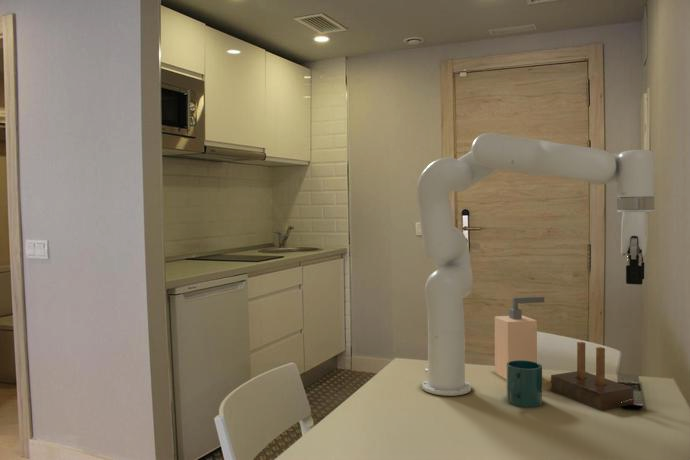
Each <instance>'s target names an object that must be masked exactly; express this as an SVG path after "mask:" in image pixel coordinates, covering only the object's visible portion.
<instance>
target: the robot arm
mask: <svg viewBox="0 0 690 460" xmlns="http://www.w3.org/2000/svg"><path fill="white" fill-rule="evenodd" d="M499 170H500V171H506V172H513V173H518V174H525V175H528V176H530V175H531V176H536V177H537V176H538V177H541V176H550V177H558V178H564V179H571V180H576V181H581V182H587V183H590V184H593V185H596V186H597V185H598V186H599V185H601V186H602V185H606V184H614V183H616V185H617V186H616V187H617V188H616V213H621V214H622V215H621V223H620V224H621V225H620V227H621V229H620V256H622V257H625V256H626V254H627V257H626V265H625V283H626V284H627V285H638V286H640V285H643V283H644V282H643V280H645V262H644V257H645V256H646V254H647V249H648V242H649V241H648V240H649V213H655V212H656V211H655V208H656V207H655V205H656V204H655V202H656V199H655V195H656V194H655V192H656V188H655V187H656V186H655V185H656V182H655V181H656V157H655V153H654V151H652V150H648V149H630V150H624V151H621V152H620V153H610V152H609V151H607V150H604V149H601V148H597V147H589V146H584V145H583V146H581V145H575V144H569V143H559V142H555V141H554V142H553V141H549V140H542V139H536V138H528V137H521V136H515V135H509V134H501V133H494V132H485V133H481V134H479V135H477V137H476V138H475V139H474V140H473V142H472V144H471V149H470V151H469V152H467V153H466V154H464V155H461V157H459V158H454V157H442V158H438V159H436V160H434V161H432V162H431V163H430V164H428V166H426V167H425V168H424V170H423V171H422V172H421V174H420V176H419V178H418V181H417V185H416V201H417V206H418V214H419V224H420V232H421V238H422V240H421V241H422V247H423V252H424V255H425V256H426V258H427V259H428V260H429V261H431V262H432V263H436V268H437V269H436V270H434V271H433V272H431V274H430V275H429V276H428V277H427V280H426V282H425V286H424V297H425V303H426V315H427V367H426V368H425V369H424V373H425V374H427V379H425V380H424V381H422V383H421V388H422V390H423V391H425V392H427V393H428V394H429V393H430V394H432V395H437V396H444V397H445V396H446V397H448V396H449V397H452V396H453V397H455V396H462V395H465V394H468V393H470V392H471V391H472V385H471V383H470V382H468V381H466V325H465V324H466V323H465V322H466V321H465V319H466V318H465V310H464V298H466V297H467V296H469V294H470V293H471V291H472V289H473V286H474V276H473V269H472V262H471V255H470V249H469V243H468V239H467V237H466V235H465V233H464V232H463V231H462V230H460V229H459V228H458V227H456V226H455V224H454V217H453V209H452V204H451V201H450V192H454V193H461V192H464V191H466V190H467V191H468V189H470V188H472V187H474V186H475V185H477V184H478V183H480V182H482V181H484V180H485V179H486V178H488V177H490V176H492V175H493V174H494V173H496V172H498V171H499Z"/></svg>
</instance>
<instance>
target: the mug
mask: <svg viewBox="0 0 690 460" xmlns="http://www.w3.org/2000/svg"><path fill="white" fill-rule="evenodd" d="M506 402H507V403H509V404H511V405H513V406H516V407H521V408H535V407H539V406H541V405H542V404H543V365H542V364H541V363H539V362H537V363H536V362H532V361H524V360H516V361H510V362H508V363H507V380H506Z"/></svg>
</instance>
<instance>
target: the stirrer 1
mask: <svg viewBox="0 0 690 460" xmlns="http://www.w3.org/2000/svg"><path fill="white" fill-rule="evenodd" d="M576 371H577V378H578V379H581V380H582V379H585V372H586V342H583V341H577V342H576Z"/></svg>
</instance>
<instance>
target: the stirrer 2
mask: <svg viewBox="0 0 690 460" xmlns="http://www.w3.org/2000/svg"><path fill="white" fill-rule="evenodd" d="M595 363H596V364H595V375H596V385H598V386H600V387H601V386H605V379H606V348H605V347H602V346H598V347H597V346H596V347H595Z"/></svg>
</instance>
